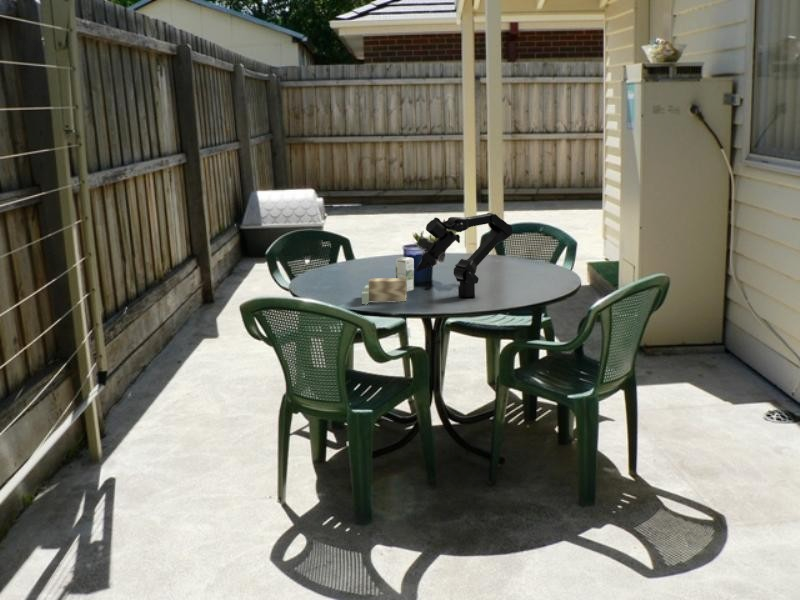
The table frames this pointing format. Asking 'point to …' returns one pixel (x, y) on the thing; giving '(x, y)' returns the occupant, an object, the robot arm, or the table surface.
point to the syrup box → (406, 271)
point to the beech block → (387, 289)
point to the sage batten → (365, 295)
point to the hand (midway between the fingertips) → (416, 270)
